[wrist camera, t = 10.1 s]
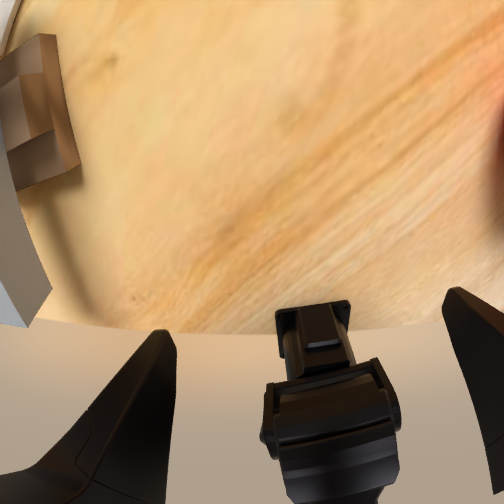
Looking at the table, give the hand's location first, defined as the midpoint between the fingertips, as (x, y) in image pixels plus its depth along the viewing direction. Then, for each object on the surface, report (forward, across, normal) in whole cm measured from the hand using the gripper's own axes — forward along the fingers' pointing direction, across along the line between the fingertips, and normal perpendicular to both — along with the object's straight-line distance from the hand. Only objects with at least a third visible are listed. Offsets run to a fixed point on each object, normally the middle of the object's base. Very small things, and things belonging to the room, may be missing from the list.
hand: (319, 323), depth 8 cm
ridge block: (+12, +17, -9) cm, 23 cm away
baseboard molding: (+13, +16, -32) cm, 38 cm away
